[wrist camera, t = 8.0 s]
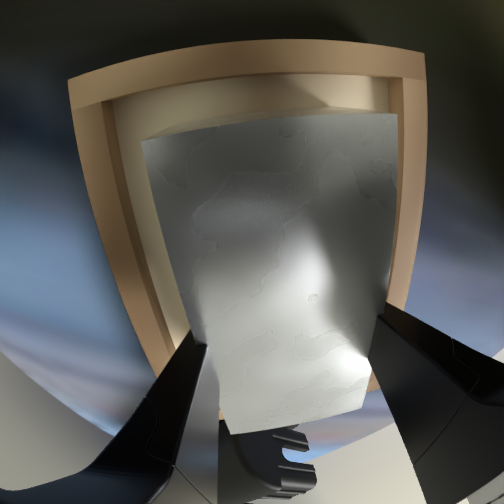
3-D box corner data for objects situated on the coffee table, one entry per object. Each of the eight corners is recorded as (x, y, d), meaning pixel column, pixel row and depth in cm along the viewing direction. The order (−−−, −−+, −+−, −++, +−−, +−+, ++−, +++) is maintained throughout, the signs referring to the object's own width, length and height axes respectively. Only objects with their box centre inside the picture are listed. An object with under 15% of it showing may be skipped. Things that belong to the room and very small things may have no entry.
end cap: (229, 384, 17) (238, 484, 11) (305, 413, 20) (326, 491, 14) (154, 438, 20) (150, 510, 14) (223, 459, 23) (229, 522, 17)
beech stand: (381, 59, 10) (424, 53, 7) (362, 352, 17) (379, 388, 15) (102, 83, 9) (67, 80, 6) (183, 380, 17) (180, 422, 14)
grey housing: (332, 339, 13) (361, 408, 10) (225, 359, 13) (230, 434, 10) (330, 106, 9) (397, 113, 5) (171, 125, 8) (140, 141, 5)
